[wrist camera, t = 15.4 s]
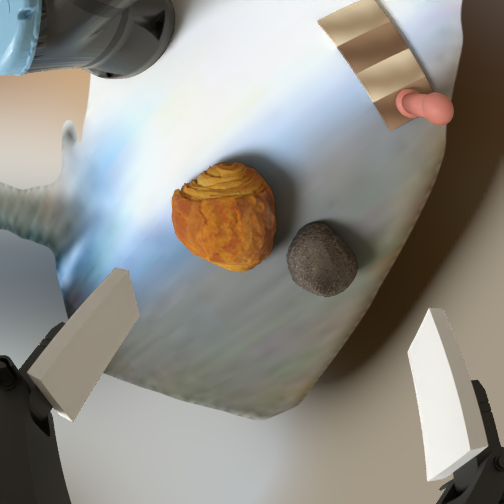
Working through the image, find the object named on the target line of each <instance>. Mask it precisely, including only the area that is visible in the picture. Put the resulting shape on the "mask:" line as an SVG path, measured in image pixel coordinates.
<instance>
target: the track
mask: <svg viewBox="0 0 504 504" xmlns="http://www.w3.org/2000/svg"><path fill="white" fill-rule="evenodd" d="M318 24H319V25H320V26H321V27H322V29H323V30H324V31H325V32H326V34H327V35H328V36H329V38H330V39H331V40H332V42H333V43H334V44H335V46H336V47H337V48H338V50H339V51H340V53H341V54H342V55H343V57H344V58H345V60H346V61H347V62H348V64H349V65H350V67H351V68H352V70H353V71H354V73H355V74H356V76H357V77H358V79H359V80H360V82H361V84H362V85H363V87H364V88H365V90H366V92H367V93H368V95H369V96H370V98H371V100H372V101H373V103H374V105H375V106H376V108H377V110H378V112H379V113H380V115H381V117H382V119H383V120H384V122H385V124H386V126H387V128H388V130H390V131H391V130H393V129H395V128H396V127H398V126H400V125H402V124H404V123H406V122H408V121H410V120H412V119H414V118H409V117H406V116H404V115H402V114H401V113H400V112H399V111H398V110H397V108H396V106H395V97H396V95H397V93H398V92H399V91H401V90H403V89H413V90H416V91H418V92H419V93H420V94H430V93H434V92H433V90H432V88H431V86H430V84H429V82H428V80H427V78H426V77H425V75H424V73H423V71H422V69H421V68H420V66H419V64H418V63H417V61H416V59H415V58H414V56H413V54H412V53H411V51H410V49H409V48H408V46H407V45H406V43H405V42H404V40H403V39H402V37H401V36H400V34H399V33H398V31H397V30H396V28H395V27H394V25H393V24H392V23H391V21H390V20H389V18H388V17H387V16H386V14H385V13H384V12H383V10H382V9H381V8H380V6H379V5H378V4H377V3H376V1H375V0H360V1H358V2H355V3H353V4H351V5H349V6H347V7H344V8H342V9H340V10H338V11H336V12H334V13H332V14H330V15H328V16H326V17H324V18H322V19H320V20H318Z"/></svg>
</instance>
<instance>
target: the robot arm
mask: <svg viewBox="0 0 504 504" xmlns="http://www.w3.org/2000/svg"><path fill="white" fill-rule="evenodd" d="M174 23H175V14H174V9H173V5H172V3H171V1H170V0H0V76H2V75H17V76H20V75H23V74H25V73H32V72H40V71H48V70H57V69H69V68H82V69H84V70H86V71H88V72H90V73H92V74H94V75H96V76H98V77H101V78H105V79H123V78H129V77H132V76H135V75H137V74H139V73H141V72H143V71H145V70H146V69H148V68H149V67H150V66H151V65H152V64H154V63H155V62H156V61H157V60H158V58H159V57H160V56H161V55H162V53H163V52H164V50H165V49H166V47H167V45H168V43H169V41H170V39H171V36H172V33H173V30H174ZM139 316H140V314H139V311H138V307H137V303H136V299H135V295H134V291H133V286H132V282H131V278H130V273H129V270H125V269H120V268H115V269H114V270H113V271H112V272H111V273H110V274H109V275H108V276H107V277H106V278H105V279H104V280H103V281H102V283H101V284H100V285H99V286H98V287H97V288H96V289H95V290H94V291H93V292H92V294H91V295H90V296H89V297H88V298H87V299H86V300H85V302H84V303H83V304H82V305H81V306H80V307H79V308H78V310H77V311H76V312H75V313H74V314H73V315H72V317H71V318H70V319H69V320H68V322H67V323H63V322H61V323H60V324H58V325H57V326H55V327H54V328H52V329H51V330H50V332H49V333H48V334H47V335H46V337H45V339H43V340H42V341H41V343H40V345H38V346H37V348H36V349H35V350H34V351H33V353H32V354H31V355H30V356H29V358H28V359H27V360H26V361H25V363H24V364H23V365H22V367H21V368H20V369H19V370H18V369H17V368H16V366H15V365H14V363H13V362H12V360H11V359H10V358H9V357H8V356H6V355H1V356H0V504H71V501H70V498H69V494H68V491H67V487H66V483H65V479H64V475H63V471H62V467H61V462H60V458H59V452H58V447H57V442H56V436H55V430H54V423H53V417H52V414H51V412H50V411H51V409H52V408H54V409H55V410H56V411H57V413H58V414H59V415H61V416H62V417H64V418H66V419H68V420H70V421H72V422H74V420H75V418H76V416H77V415H78V413H79V411H80V410H81V408H82V406H83V404H84V403H85V401H86V399H87V398H88V396H89V395H90V393H91V391H92V390H93V388H94V386H95V385H96V383H97V381H98V380H99V378H100V376H101V375H102V373H103V372H104V370H105V369H106V367H107V365H108V364H109V362H110V361H111V359H112V358H113V356H114V354H115V353H116V351H117V350H118V348H119V347H120V345H121V344H122V342H123V341H124V339H125V338H126V336H127V334H128V333H129V331H130V330H131V328H132V327H133V325H134V324H135V322H136V321H137V319H138V318H139ZM407 353H408V357H409V361H410V365H411V371H412V375H413V380H414V385H415V390H416V396H417V401H418V407H419V413H420V419H421V426H422V433H423V441H424V449H425V459H426V469H427V481H433V480H439V479H444V478H446V477H447V476H449V475H450V474H452V473H453V475H454V479H452V480H451V481H449V482H448V483H446V484H444V485H443V486H442V487H441V488H440V489H439V490H443V489H445V488H446V487H447V488H446V490H445V491H444V493H443V494H442V496H441V497H440V499H439V500H438V502H437V503H436V504H504V447H501V445H500V442H499V438H498V433H497V430H496V425H495V422H494V418H493V414H492V412H491V407H490V404H489V403H488V398H487V394H486V391H485V389H484V388H483V386H482V385H481V384H480V382H479V381H478V380H470V377H469V374H468V371H467V368H466V365H465V362H464V359H463V357H462V354H461V351H460V348H459V346H458V343H457V341H456V338H455V335H454V333H453V330H452V328H451V326H450V323H449V321H448V319H447V316H446V314H445V312H444V309H436V308H429V309H428V311H427V313H426V315H425V318H424V320H423V322H422V324H421V326H420V328H419V330H418V332H417V335H416V337H415V338H414V340H413V342H412V344H411V346H410V348H409V350H408V352H407Z"/></svg>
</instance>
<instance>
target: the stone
mask: <svg viewBox="0 0 504 504" xmlns="http://www.w3.org/2000/svg"><path fill="white" fill-rule="evenodd" d="M287 263H288V268H289V271H290V274H291V276H292V279H293V281H294V282H295V283H296V284H297V285H298V286H300V287H301V288H303V289H305V290H307V291H309V292H311V293H313V294H316V295H319V296H324V297H331V296H334V295H337V294H339V293H341V292H343V291H344V290H345V289H346V288H348V286H349V285H350V284H351V283H352V281H353V280H354V278H355V276H356V273H357V269H358V264H357V261H356V258H355V256H354V255H353V253H352V252H351V251H350V249H349V248H348V246H347V245H346V244H345V243H344V241H343V240H341V239H340V238H339V237H338V236H337V235H336V234H335V233H334V232H333V231H332V230H331V229H330V228H329V227H328V226H327V225H325V224H324V223H319V222H315V223H310V224H307V225H305V226H304V227H302V228H301V229H300V230H299V231H298V233H297V234H296V236H295V237H294V239H293V241H292V243H291V245H290V247H289V249H288V252H287Z"/></svg>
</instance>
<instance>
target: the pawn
mask: <svg viewBox="0 0 504 504" xmlns="http://www.w3.org/2000/svg"><path fill="white" fill-rule="evenodd" d="M395 106H396V108H397V110H398V111H399V112H400V113H401V114H402V115H404V116H406V117H409V118H417V117H419V116H420V117H423V118H427V119H428V120H429V121H430V122H431V123H433V124H436V125H445V124H447V123H448V122H450V120H451V119H452V117H453V113H454V109H453V105H452V103H451V101H450V100H449V99H448V97H446V96H445V95H443V94H441V93H438V92H434V93H430V94H420V93H419V92H418V91H416V90H413V89H403V90H401V91H399V92H398V93H397V95H396V97H395Z"/></svg>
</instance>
